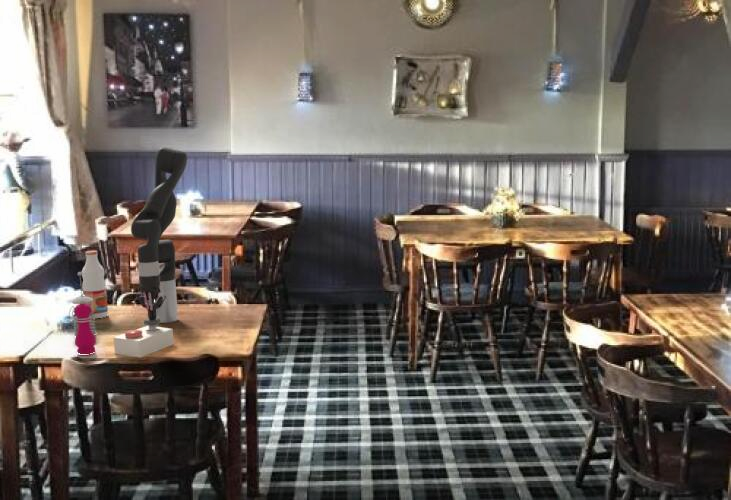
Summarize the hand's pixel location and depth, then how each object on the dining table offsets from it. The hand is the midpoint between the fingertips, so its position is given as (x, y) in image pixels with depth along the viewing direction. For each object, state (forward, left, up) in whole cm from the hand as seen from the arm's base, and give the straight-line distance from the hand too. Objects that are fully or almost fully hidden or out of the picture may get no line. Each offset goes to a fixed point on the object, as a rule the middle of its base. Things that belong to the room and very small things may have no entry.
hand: (152, 319), depth 348 cm
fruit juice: (-53, +24, -10) cm, 59 cm away
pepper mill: (-16, -18, -10) cm, 26 cm away
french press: (-36, 0, -10) cm, 38 cm away
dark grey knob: (0, 0, -5) cm, 5 cm away
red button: (0, -10, -8) cm, 13 cm away
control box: (0, -5, -10) cm, 11 cm away
